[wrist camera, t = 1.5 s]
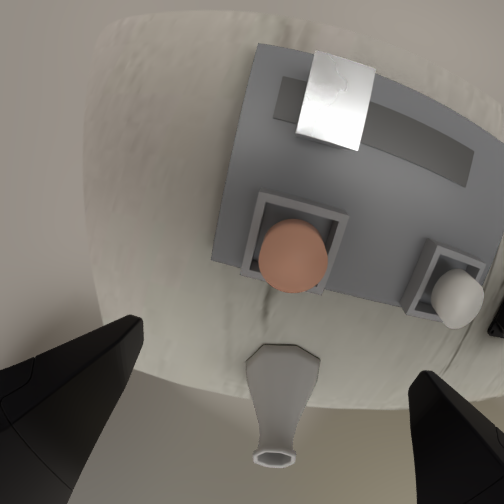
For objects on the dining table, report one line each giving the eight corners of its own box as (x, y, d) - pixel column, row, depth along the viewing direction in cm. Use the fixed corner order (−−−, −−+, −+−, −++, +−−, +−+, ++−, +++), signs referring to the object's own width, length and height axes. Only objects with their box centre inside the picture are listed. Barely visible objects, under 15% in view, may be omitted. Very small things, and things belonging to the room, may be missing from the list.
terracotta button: (331, 228, 16) (337, 239, 14) (313, 283, 17) (315, 299, 15) (270, 211, 16) (267, 220, 14) (256, 268, 17) (251, 283, 15)
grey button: (477, 274, 15) (491, 287, 13) (456, 316, 16) (467, 331, 15) (444, 263, 15) (458, 276, 13) (422, 309, 17) (433, 325, 15)
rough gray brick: (359, 83, 13) (376, 69, 10) (343, 149, 15) (357, 151, 12) (310, 69, 14) (315, 50, 10) (294, 135, 15) (295, 132, 12)
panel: (508, 156, 15) (534, 161, 11) (454, 309, 20) (471, 331, 17) (261, 52, 16) (255, 34, 12) (217, 249, 21) (204, 269, 18)
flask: (236, 383, 27) (215, 465, 17) (256, 332, 24) (237, 427, 15) (302, 399, 26) (300, 481, 17) (332, 353, 24) (343, 446, 14)
